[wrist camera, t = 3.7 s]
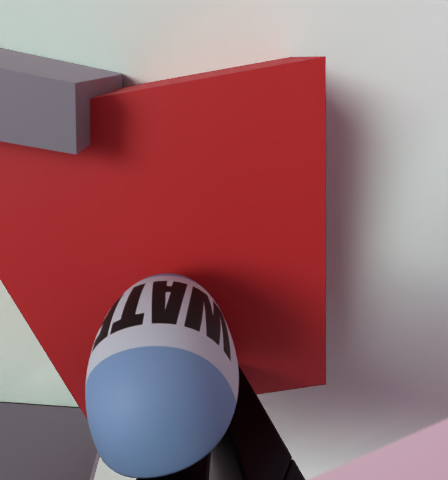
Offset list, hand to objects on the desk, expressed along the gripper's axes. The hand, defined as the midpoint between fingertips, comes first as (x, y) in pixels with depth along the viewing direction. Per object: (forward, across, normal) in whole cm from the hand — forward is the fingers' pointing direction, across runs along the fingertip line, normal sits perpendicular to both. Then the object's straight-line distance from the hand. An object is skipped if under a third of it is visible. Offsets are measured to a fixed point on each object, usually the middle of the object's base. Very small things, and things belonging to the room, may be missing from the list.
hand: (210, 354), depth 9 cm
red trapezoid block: (+2, +1, -3) cm, 4 cm away
